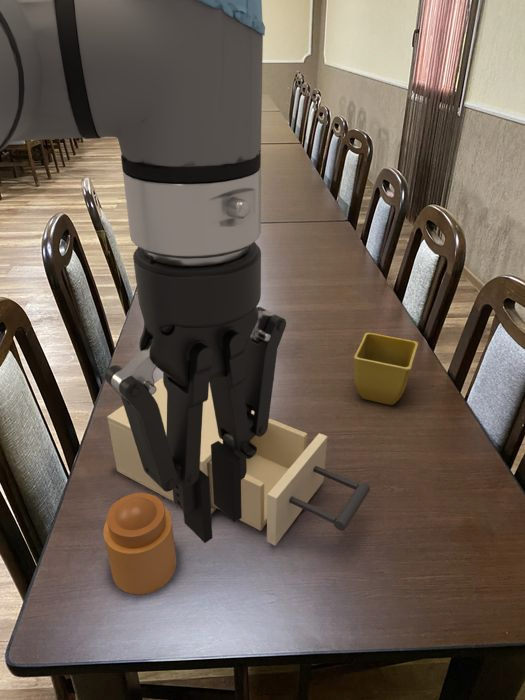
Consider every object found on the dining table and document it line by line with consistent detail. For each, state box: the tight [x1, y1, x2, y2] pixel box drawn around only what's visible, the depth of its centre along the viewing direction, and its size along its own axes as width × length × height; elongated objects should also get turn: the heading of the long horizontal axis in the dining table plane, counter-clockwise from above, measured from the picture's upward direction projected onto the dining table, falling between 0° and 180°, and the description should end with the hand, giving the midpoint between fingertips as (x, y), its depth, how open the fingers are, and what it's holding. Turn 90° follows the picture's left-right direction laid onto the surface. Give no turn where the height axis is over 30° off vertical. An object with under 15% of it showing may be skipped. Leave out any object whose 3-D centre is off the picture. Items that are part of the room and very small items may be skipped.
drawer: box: [207, 417, 371, 547], centre depth 67 cm, size 22×12×8 cm, turn 58°
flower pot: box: [353, 332, 419, 406], centre depth 88 cm, size 9×9×9 cm
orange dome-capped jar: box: [102, 492, 177, 596], centre depth 59 cm, size 7×7×10 cm
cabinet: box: [106, 377, 254, 515], centre depth 73 cm, size 16×14×10 cm
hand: (213, 520), depth 44 cm, fingers open, 2 cm apart
